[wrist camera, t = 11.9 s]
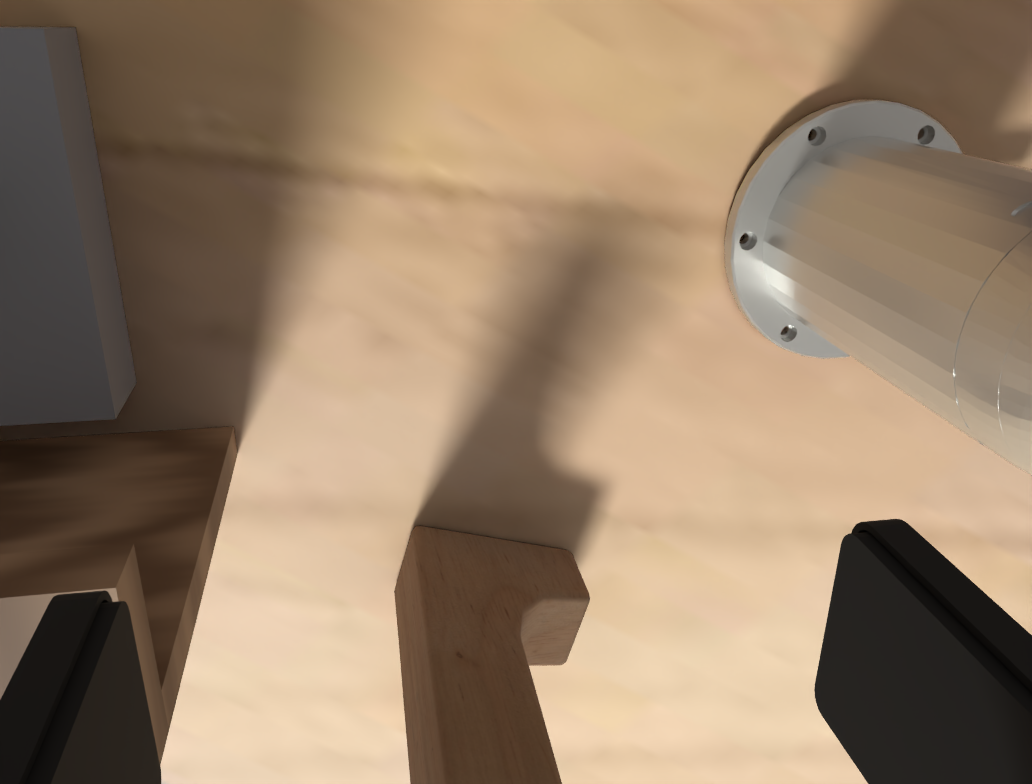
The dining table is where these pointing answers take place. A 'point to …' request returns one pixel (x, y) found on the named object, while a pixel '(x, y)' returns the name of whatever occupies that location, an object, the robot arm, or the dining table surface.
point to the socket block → (55, 243)
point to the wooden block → (482, 654)
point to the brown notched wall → (114, 539)
